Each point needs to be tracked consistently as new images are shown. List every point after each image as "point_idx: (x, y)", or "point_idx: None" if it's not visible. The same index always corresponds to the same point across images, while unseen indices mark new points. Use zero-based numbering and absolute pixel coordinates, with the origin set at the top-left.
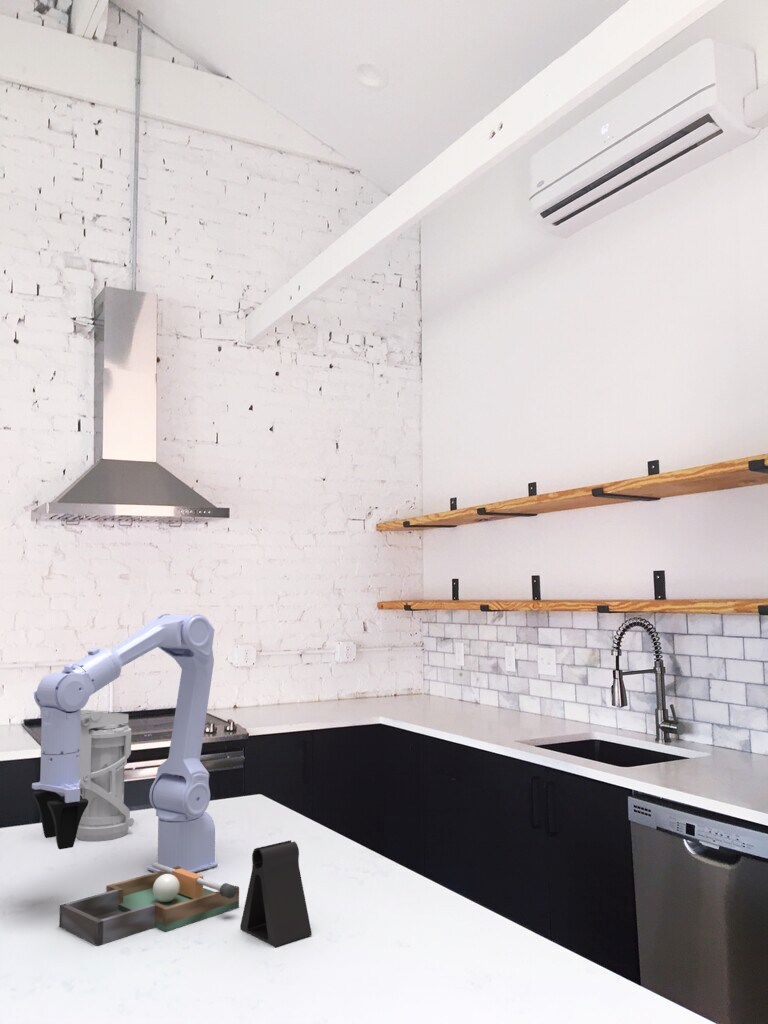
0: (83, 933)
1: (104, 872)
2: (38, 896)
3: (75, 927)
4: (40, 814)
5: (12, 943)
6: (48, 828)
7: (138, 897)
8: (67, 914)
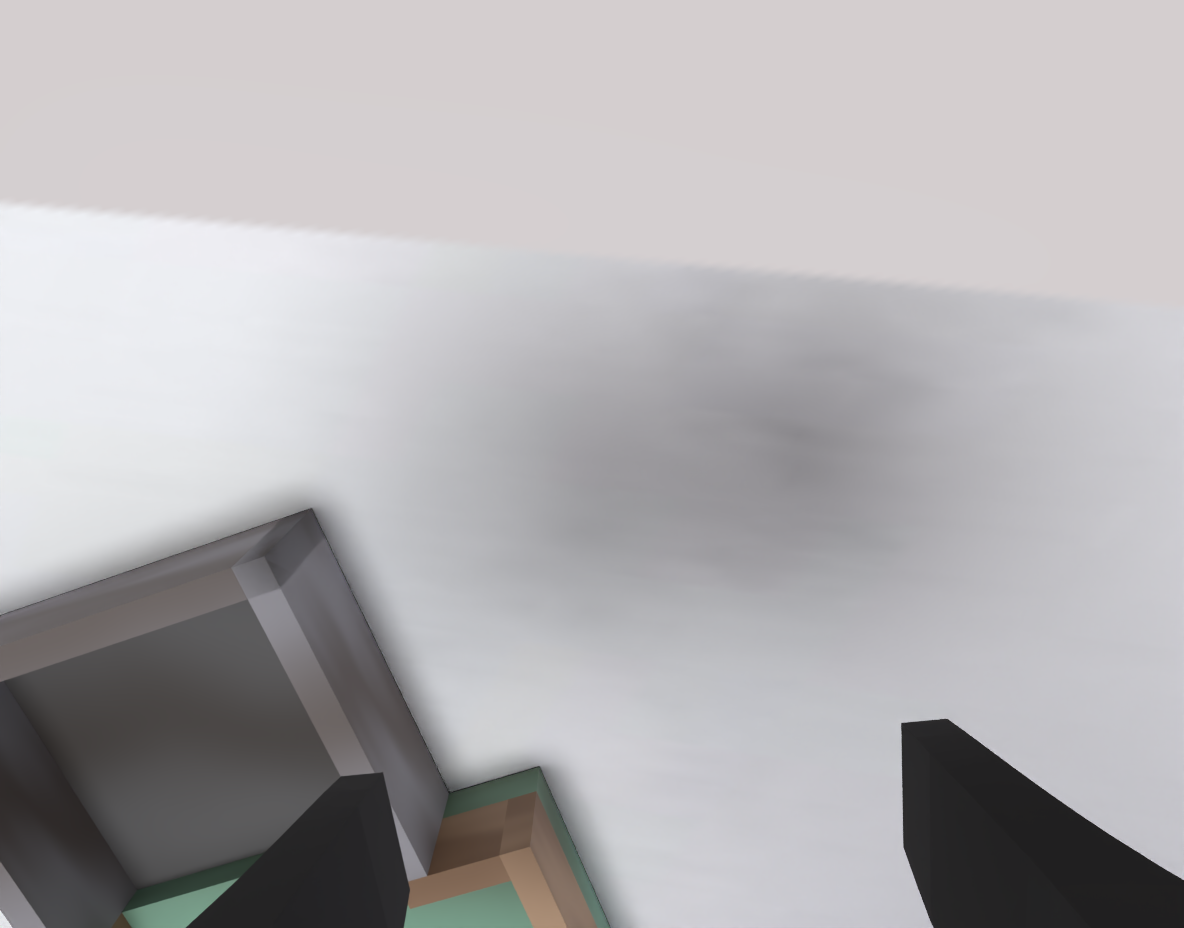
0: (55, 602)
1: (1156, 859)
2: (940, 471)
3: (125, 580)
4: (1154, 878)
5: (141, 238)
6: (942, 818)
7: (480, 925)
8: (186, 572)
